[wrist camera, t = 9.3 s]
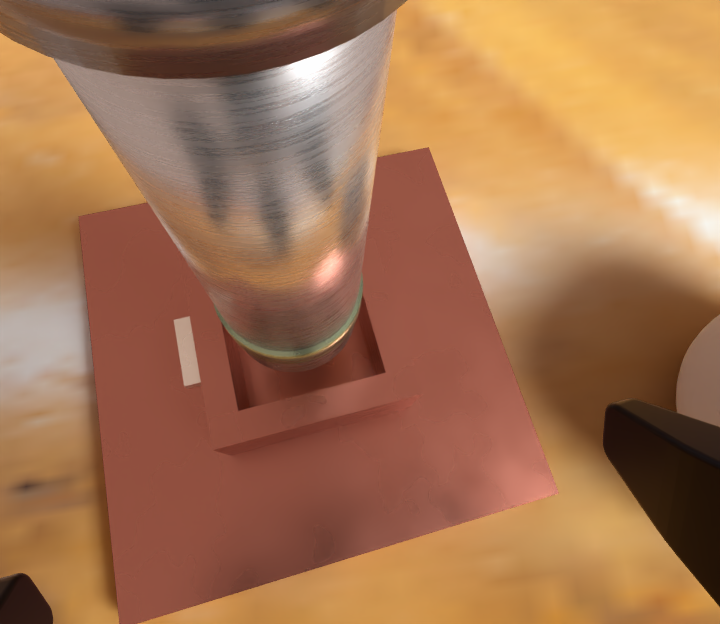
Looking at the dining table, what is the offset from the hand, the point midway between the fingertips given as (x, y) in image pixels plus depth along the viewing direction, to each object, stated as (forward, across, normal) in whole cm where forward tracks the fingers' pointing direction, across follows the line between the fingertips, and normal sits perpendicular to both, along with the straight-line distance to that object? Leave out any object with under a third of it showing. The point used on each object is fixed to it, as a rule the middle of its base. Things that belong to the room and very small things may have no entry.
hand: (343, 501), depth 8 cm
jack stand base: (+13, 0, +5) cm, 14 cm away
